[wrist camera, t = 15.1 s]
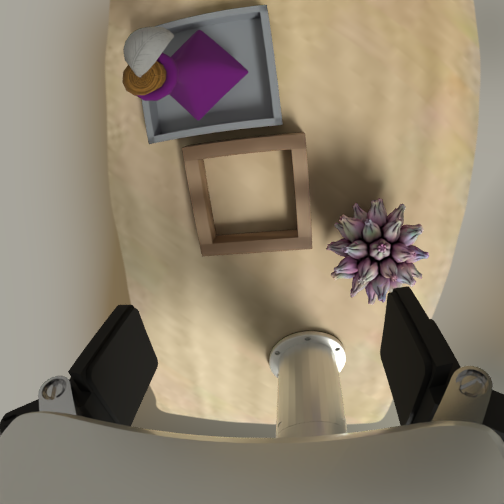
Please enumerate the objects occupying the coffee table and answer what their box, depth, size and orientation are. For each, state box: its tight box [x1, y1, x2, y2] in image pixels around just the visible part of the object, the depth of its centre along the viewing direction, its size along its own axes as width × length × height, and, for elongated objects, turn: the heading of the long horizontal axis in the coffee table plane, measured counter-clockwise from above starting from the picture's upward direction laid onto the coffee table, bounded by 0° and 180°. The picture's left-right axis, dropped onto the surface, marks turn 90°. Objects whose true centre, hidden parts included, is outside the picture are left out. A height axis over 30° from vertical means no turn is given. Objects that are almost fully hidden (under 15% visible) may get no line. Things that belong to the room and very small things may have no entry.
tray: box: [142, 5, 282, 144], centre depth 29 cm, size 14×15×3 cm
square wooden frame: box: [182, 132, 312, 256], centre depth 36 cm, size 14×14×2 cm
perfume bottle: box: [123, 27, 248, 121], centre depth 22 cm, size 8×8×18 cm
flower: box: [326, 198, 429, 305], centre depth 32 cm, size 12×12×12 cm
